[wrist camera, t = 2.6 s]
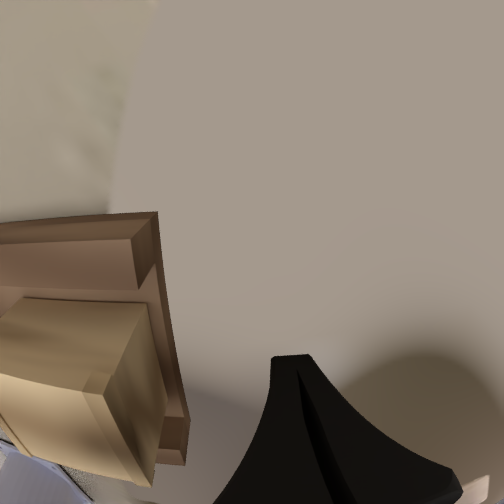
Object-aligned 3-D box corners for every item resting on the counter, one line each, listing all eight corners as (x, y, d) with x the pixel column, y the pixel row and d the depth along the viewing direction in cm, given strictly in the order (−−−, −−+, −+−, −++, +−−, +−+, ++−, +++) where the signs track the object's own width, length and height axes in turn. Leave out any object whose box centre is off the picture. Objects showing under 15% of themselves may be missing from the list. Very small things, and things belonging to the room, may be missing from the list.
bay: (190, 420, 14) (184, 474, 11) (-19, 380, 14) (-40, 411, 11) (157, 211, 10) (124, 245, 7) (-75, 233, 10) (-112, 255, 7)
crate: (168, 400, 12) (151, 487, 8) (57, 386, 12) (22, 453, 8) (145, 301, 10) (102, 395, 6) (20, 295, 10) (-42, 359, 6)
